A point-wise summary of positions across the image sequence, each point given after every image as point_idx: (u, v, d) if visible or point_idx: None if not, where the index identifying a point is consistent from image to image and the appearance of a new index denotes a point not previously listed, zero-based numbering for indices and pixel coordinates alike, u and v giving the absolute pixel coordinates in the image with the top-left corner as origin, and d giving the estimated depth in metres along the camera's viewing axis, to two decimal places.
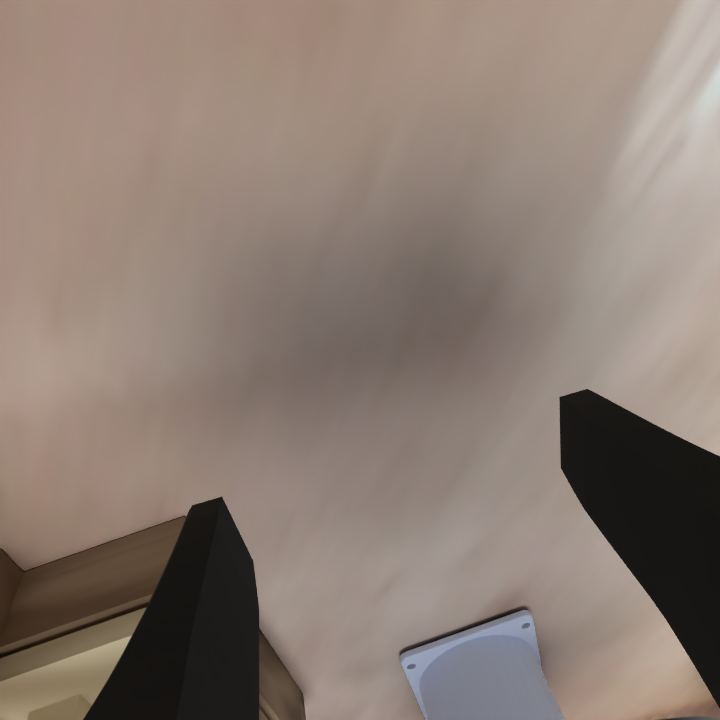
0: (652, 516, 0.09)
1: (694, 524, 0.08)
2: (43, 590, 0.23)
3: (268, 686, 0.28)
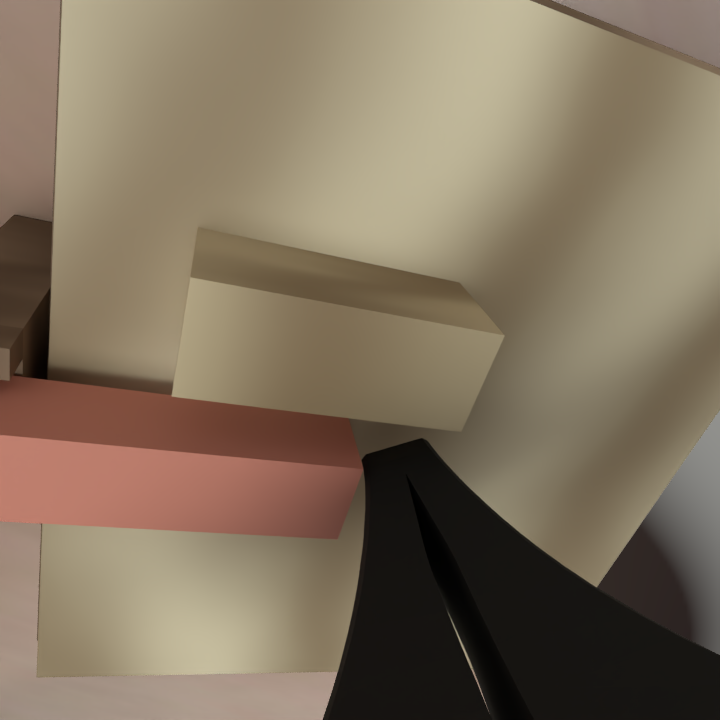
0: (450, 579, 0.09)
1: (466, 595, 0.08)
2: None
3: None
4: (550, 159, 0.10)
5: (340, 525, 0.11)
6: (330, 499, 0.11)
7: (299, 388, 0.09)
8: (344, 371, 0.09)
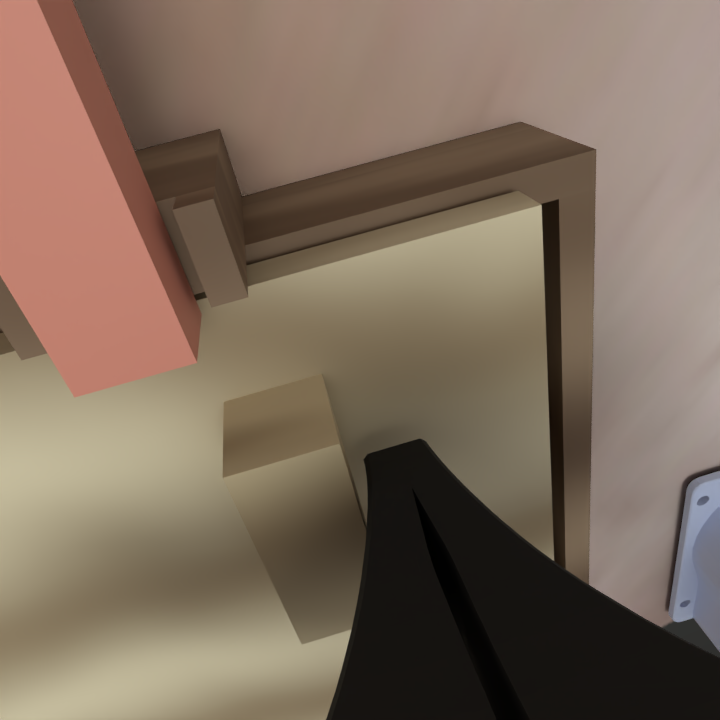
0: (448, 580, 0.09)
1: (463, 596, 0.08)
2: (298, 199, 0.13)
3: None
4: None
5: (98, 387, 0.08)
6: (132, 354, 0.08)
7: (281, 544, 0.10)
8: (313, 559, 0.11)
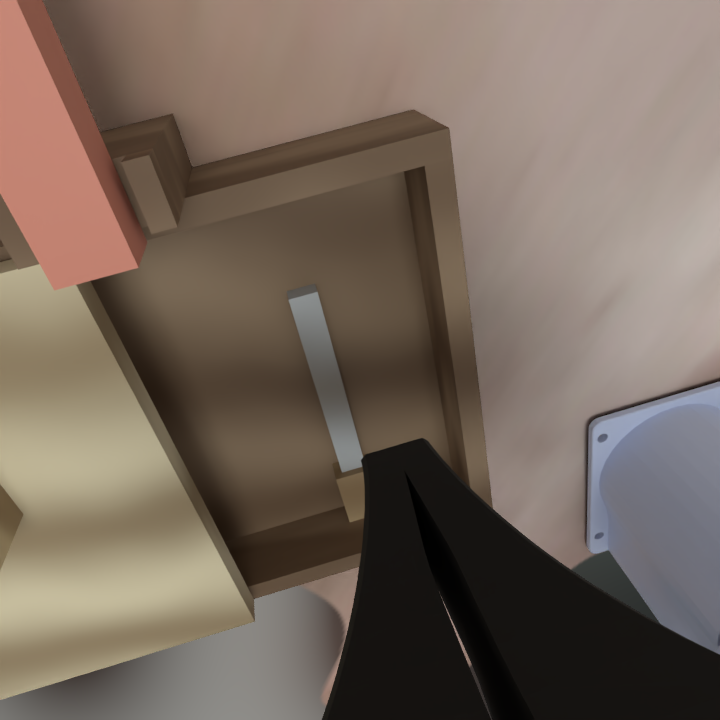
0: (451, 578, 0.09)
1: (466, 595, 0.08)
2: (232, 167, 0.17)
3: None
4: (118, 507, 0.18)
5: (70, 283, 0.12)
6: (93, 259, 0.12)
7: None
8: None
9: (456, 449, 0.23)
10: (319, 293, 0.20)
